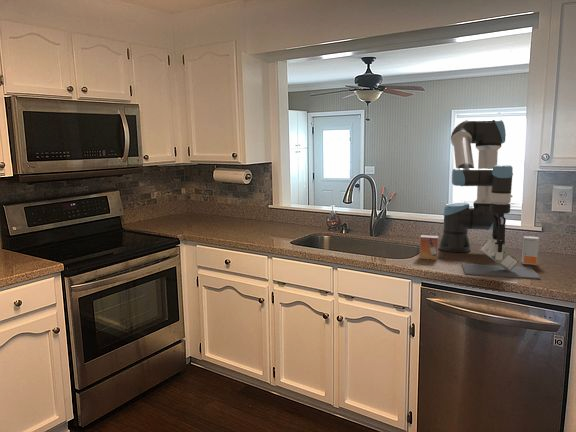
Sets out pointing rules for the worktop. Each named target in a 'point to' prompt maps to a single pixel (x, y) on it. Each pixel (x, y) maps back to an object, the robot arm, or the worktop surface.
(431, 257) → the small box
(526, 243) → the skincare box
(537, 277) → the charcoal mat
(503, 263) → the syrup box
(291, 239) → the worktop surface
